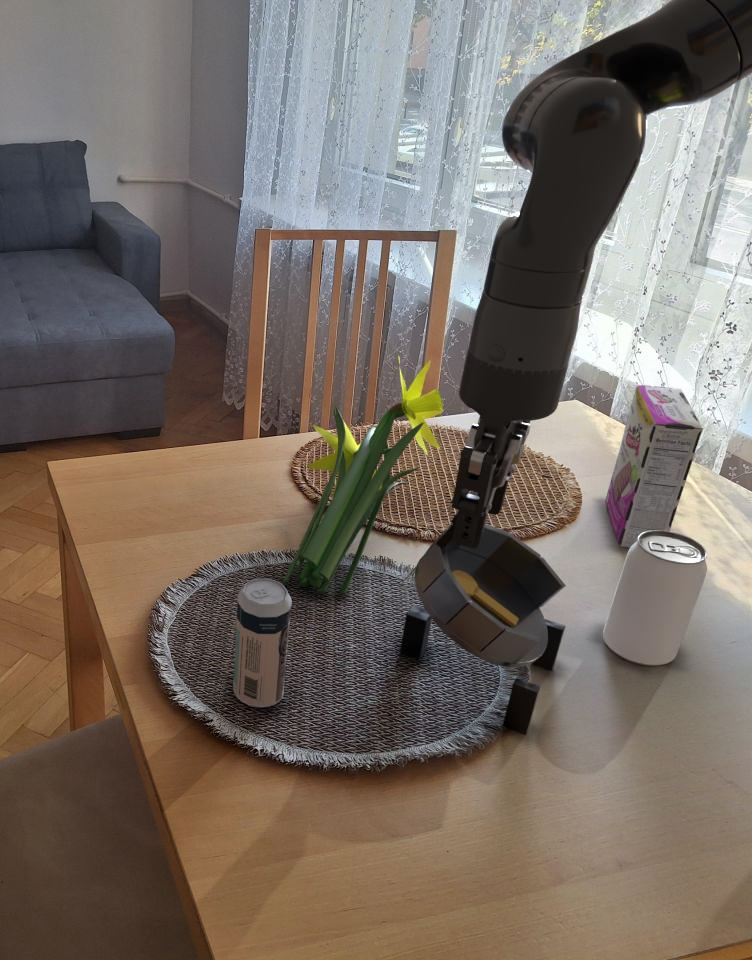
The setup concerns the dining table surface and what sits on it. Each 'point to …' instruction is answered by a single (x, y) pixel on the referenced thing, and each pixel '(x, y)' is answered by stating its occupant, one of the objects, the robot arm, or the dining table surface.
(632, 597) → the can
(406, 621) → the bowl stand
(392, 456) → the daffodil flowers
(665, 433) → the candy bar box
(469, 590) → the spoon
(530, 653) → the bowl
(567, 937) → the dining table surface
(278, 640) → the beer can
